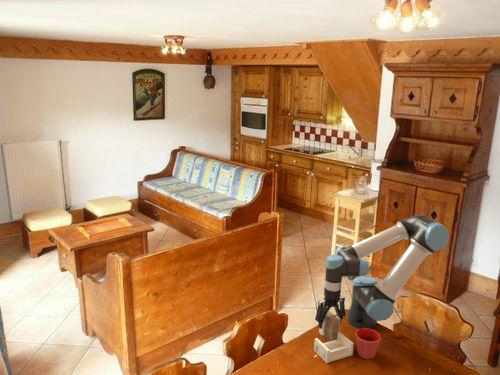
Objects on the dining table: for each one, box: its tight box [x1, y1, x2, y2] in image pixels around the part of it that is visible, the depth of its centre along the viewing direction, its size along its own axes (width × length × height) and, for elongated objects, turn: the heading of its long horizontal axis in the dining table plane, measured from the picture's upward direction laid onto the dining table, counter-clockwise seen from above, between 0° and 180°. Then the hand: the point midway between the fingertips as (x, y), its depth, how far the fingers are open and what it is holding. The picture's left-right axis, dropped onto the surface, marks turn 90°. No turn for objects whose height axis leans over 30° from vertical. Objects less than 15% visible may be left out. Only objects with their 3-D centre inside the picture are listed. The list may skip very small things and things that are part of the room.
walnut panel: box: [321, 310, 340, 342], centre depth 206 cm, size 9×4×12 cm, turn 25°
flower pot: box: [355, 328, 382, 360], centre depth 195 cm, size 11×11×10 cm
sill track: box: [313, 331, 355, 364], centre depth 195 cm, size 14×10×6 cm
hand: (329, 331), depth 207 cm, fingers open, 8 cm apart
